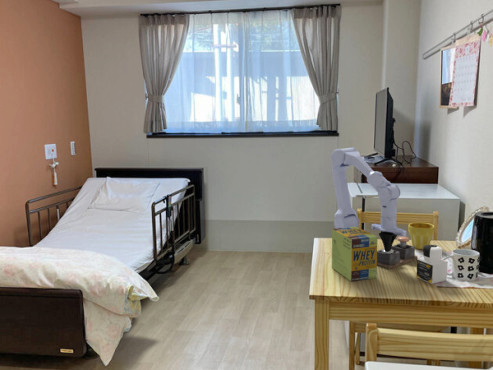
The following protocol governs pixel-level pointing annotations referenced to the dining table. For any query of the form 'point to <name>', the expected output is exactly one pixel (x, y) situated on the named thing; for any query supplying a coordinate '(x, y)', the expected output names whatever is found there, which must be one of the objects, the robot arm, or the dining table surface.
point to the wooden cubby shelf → (396, 256)
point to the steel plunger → (387, 251)
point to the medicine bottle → (432, 265)
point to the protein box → (354, 253)
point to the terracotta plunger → (403, 241)
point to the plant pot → (420, 234)
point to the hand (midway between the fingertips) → (387, 250)
